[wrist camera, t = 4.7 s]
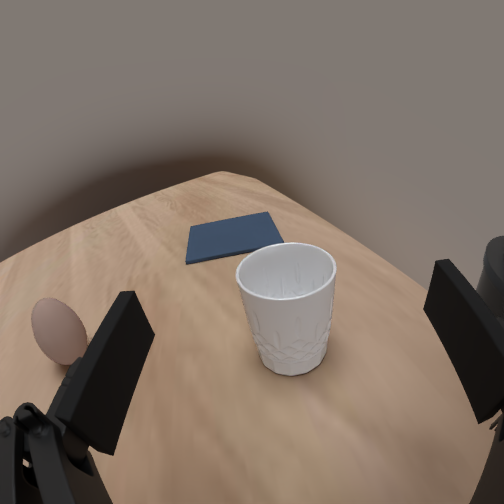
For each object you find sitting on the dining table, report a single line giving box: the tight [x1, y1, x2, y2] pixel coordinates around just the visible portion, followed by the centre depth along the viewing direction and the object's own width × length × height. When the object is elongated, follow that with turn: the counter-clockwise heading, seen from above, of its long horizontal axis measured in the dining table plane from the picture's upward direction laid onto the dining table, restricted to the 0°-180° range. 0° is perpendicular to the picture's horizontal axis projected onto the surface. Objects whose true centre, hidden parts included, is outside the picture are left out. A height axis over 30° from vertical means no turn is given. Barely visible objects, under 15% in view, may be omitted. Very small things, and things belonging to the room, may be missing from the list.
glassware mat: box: [185, 212, 284, 264], centre depth 51 cm, size 16×14×1 cm
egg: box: [31, 298, 87, 365], centre depth 26 cm, size 7×7×9 cm
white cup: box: [236, 243, 336, 376], centre depth 24 cm, size 8×8×10 cm
